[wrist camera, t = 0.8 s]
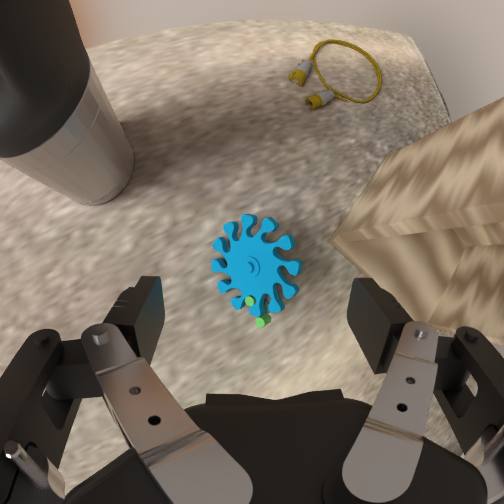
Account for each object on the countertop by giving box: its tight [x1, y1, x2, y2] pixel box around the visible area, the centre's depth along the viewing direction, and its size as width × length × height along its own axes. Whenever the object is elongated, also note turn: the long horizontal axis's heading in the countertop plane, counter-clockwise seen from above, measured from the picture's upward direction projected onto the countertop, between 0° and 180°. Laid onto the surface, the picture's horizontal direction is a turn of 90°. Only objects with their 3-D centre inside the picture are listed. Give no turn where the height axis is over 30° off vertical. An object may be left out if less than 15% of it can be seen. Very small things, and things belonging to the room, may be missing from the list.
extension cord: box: [289, 40, 382, 110], centre depth 36 cm, size 12×16×2 cm
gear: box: [211, 214, 303, 327], centre depth 31 cm, size 11×6×10 cm
